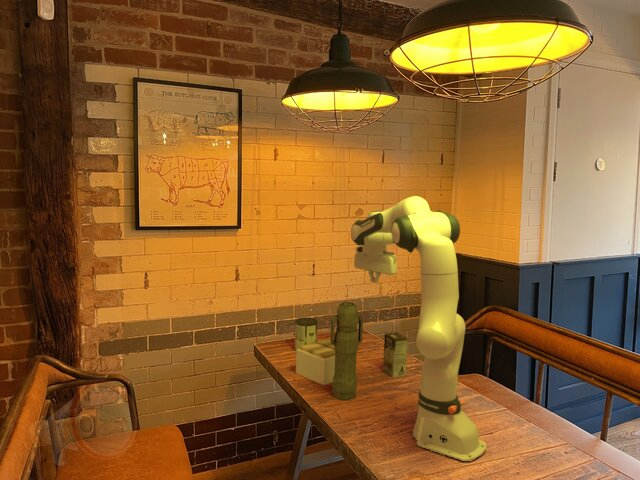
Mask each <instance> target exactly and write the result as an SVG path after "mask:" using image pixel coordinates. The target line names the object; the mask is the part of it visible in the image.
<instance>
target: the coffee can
mask: <svg viewBox="0 0 640 480" xmlns="http://www.w3.org/2000/svg"><path fill="white" fill-rule="evenodd" d="M294 323H295V330H294V331H295V333H294V335H295V336H294V338H295V339H294V345H295V347H294V351H295V352H296V350H297V349H300V346H303V345H306V344H310V343H313V342H315V343H316V341H318V319H316V318H313V317H300V318H297V319H295V321H294Z"/></svg>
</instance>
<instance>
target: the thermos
mask: <svg viewBox="0 0 640 480" xmlns="http://www.w3.org/2000/svg"><path fill="white" fill-rule="evenodd" d="M336 310H337V311H336V315H334V316H333V317H332V318H331V320H330V339H331V344H332V345H334V350H335V373H334V376H333V382H332V396H334V397H335V398H334V397H333V398H334V399H336V398H337V399H336V400H339V399H340V400H339V401H352V400H354V399H355V398H357V397H356V396H357V390H358V389H357V387H358V386H357V385H358V379H357V375H356V374H357V353H358V350H359V345H360V344H361V343H362V341H363V327H364V326H363V325H364V319H363V318H362V317H361V316H360V314H359V312H358V311H359V310H358V308H357V305H356V304H355V303H354V302H351V301H344V302H341V303H339V305H338V307H337V309H336ZM335 322H336V324H335ZM335 325H336V329H335ZM351 399H352V400H351Z"/></svg>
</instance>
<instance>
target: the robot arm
mask: <svg viewBox="0 0 640 480" xmlns="http://www.w3.org/2000/svg"><path fill="white" fill-rule="evenodd" d="M460 226H461V225H460V222H459V220H458V218H457V217H456V216H454V214H452V213H449V212H444V211H442V210H440V209H439V210H437V211H431V208H430V205H429V203H428V201H427V200H426V199H424V198H422V197H420V196H418V195H417V196H416V195H415V196H414V195H413V196H410V197H406V198H404V199H402V200H401V201H399V202H397V203H396V204H395V205H393V206H391V207H389V208H387V209H384V210H372V211H370V212H368V213H367V218H366V219H364V220H363V219H357V220H356V221H355V222H354V223H353V224H352V226H351V229H350V237H351V241H352V242H354V243H355V244H356V245H357V246H356V247H355V254H354V260H353V261H354V262H353V266H354V268H355V269H359V270H364V271H368V275H369V278H370V280H369V281H370V283H379V278H380V277H381V276H382V274H383V275H388V276H394V275H396V273H397V271H398V269H397V267H398V266H397V255H396V254H395V253H394V252H393V251H387V246H388V245H389V246H390V245H394V244H395V245H396V246H397V247H398V248H400V249H402V250H406V251H407V252H408V253H410V254H412V253H413V252H414V250H416V251H417V252H418V253H419V256H420V283H421V284H420V286H421V287H420V289H421V303H420V311H419V318H418V319H419V321H418V331H417V335H416V340H415V344H416V345H415V346H416V348H417V350H418V351H419V353H420V354H421V356H423V357H424V359H423V363H422V365H421V374H420V386H419V387H420V390H419V391H418V397H417V404H418V411H417V415H416V416H417V417H416V421H415V423H414V427H413V429H412V432H413V433H412V437H413V438H414V437H415V438H416V439H415V438H414V439H415V441H416V440H417V441H416V442H417V443H416V446H417V445H418V446H421V447H424V448H426V449H430V450H432V451H435V452H438V453H441V454H444V455H448V456H451V457H455V458H458V459H460V460H463V461H468V460H472V459H475V458H477V457H478V456H480V455H481V454H482V453H483V452H484V451H485V449H486V450H487V443H486V442H485V441H484V440H482V439H480V434H479V429H478V426H477V425H476V424H475V422H473V421H472V420H471V418H470V417H469V416H468V414H466V412H464V410H463V409H462V406H464V403H465V400H461V401H460V400H459V397H458V395H457V391H458V377H459V370H460V365H461V359H462V353H463V347H464V341H465V334H466V322H465V320H464V318H463V317H462V316H461V315H460V314H458V313H457V309H458V305H459V304H458V303H459V299H460V293H459V272H458V270H459V268H458V259H457V254H456V250H455V245H454V244H455V243H457V242H458V241H459V238H460V234H461V227H460ZM374 274H375V275H374ZM418 446H417V447H418ZM426 449H425V450H426ZM432 451H431V452H432ZM435 452H434V453H435ZM485 452H486V451H485ZM438 453H437V454H438ZM441 454H440V455H441ZM444 455H443V456H444ZM470 457H471V458H470Z"/></svg>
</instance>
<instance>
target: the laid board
mask: <svg viewBox="0 0 640 480" xmlns="http://www.w3.org/2000/svg"><path fill="white" fill-rule="evenodd" d="M300 350H302V351H305V352H308V353H310V354H313V355H315V356H318V357H320V358H323V359H327V358H330V357H333V356H335V350H334V349H332V348H329V347H326V346H324V345H321V344H318V343H315V342H313V343H310V344H306V345H303V346H300Z"/></svg>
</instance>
